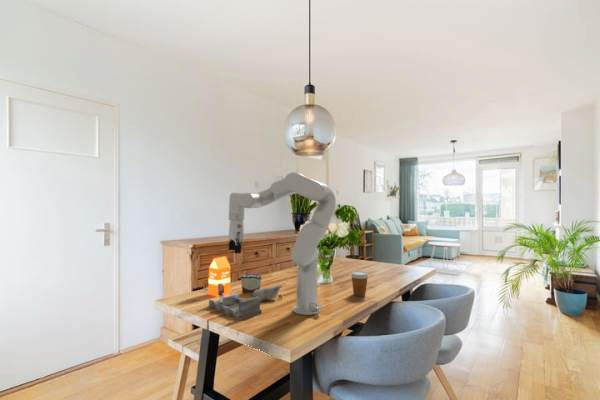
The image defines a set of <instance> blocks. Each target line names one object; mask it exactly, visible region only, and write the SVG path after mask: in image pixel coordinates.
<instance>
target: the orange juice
mask: <svg viewBox="0 0 600 400" xmlns="http://www.w3.org/2000/svg"><path fill="white" fill-rule="evenodd" d="M220 283H224V284H225V290H224V295H228V294H231V265H230V262H229V260H228V258H227V256H219V257H214V258H213V259H212V261H211V263H210V265H209V266H208V295H209V296H210V295H211V296H213V297H217V298H219V295H218V284H220Z"/></svg>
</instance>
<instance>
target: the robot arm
mask: <svg viewBox="0 0 600 400" xmlns="http://www.w3.org/2000/svg"><path fill="white" fill-rule="evenodd" d="M294 194H297V195H299V196H302V197H304V198H306V199H308V200H310V201H314V202H317V205H316V206H315V209H314V211H313V214H312V217H311V218H310V220H309V222H306V223H305V224H304V225H303V226H302V227H301V229H300V230H299V233H298V235H297V238H296V240H295V243H294V245H293V247H292V250H291V256H290V257H291V261H292V263H293V264H294V265H295V266H296V295H295V296H296V297H295V298H296V299H295V300H296V305H294V306H292V311H293V312H294V314H297V315H302V316H313V315H317V314H319V313H321V311H322V309H323V306H322V305H319V301H317V300H318V297H317V296H318V290H317V289H318V263H319V251H318V245H319V242H321V241H322V240H323V239H324V238H325V235H326V232H327V230H328V228H329V225H330V222H331V219H332V217H333V215H334V213H335V212H334V211H335V209H336V204H337V203H336V202H337V201H336V196H335V194H334V192H333V190H332V189H331V187H329V186H328V185H327V184H325V183H322V182H319V181H317V180H314V179H312V178H309V177H307V176H305V175H304V174H303V173H299V172H296V171H292V172H289V173H287V174H286V176H285V177H284V178H281V179H279V180H277V181H274V182H272V183H271V185H270V187H268V188H267V189H264V190H262V191H260V192H256V193H255V192H253V193H252V192H245V193H242V192H231V193H230V194H229V202H228V203H229V205H228V221H229V227H228V239H229V240H228V250H229V251H234V254H241V253H242V244H243V240H244V221H245V208H246V209H259V208H261V207H265V206H267V205H270V204H272V203H275V202H276V201H278V200H281V199H283V198H287V197H290V196H291V195H294Z"/></svg>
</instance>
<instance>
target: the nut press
mask: <svg viewBox="0 0 600 400" xmlns="http://www.w3.org/2000/svg"><path fill="white" fill-rule="evenodd" d="M208 307H209V308H211V309H213V310H216V311H218V312H220V313H223V314H225V316H226V315H227V316H229V317H231V318H233V319H235V320H237V321H243V320H246V319H249V318H252V317H255V316H257V315H261V314H262V313H263V312H262V309H261V300H260V297H258V296H256V297H253V298H252V297H250V298H249V297H248V298H246V299H243V298H240V297H239V302H238V303H234V304H231V305H227V306H224V305H222V304H220V303H219V300H217V301H215V300H213V299H209V300H208Z"/></svg>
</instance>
